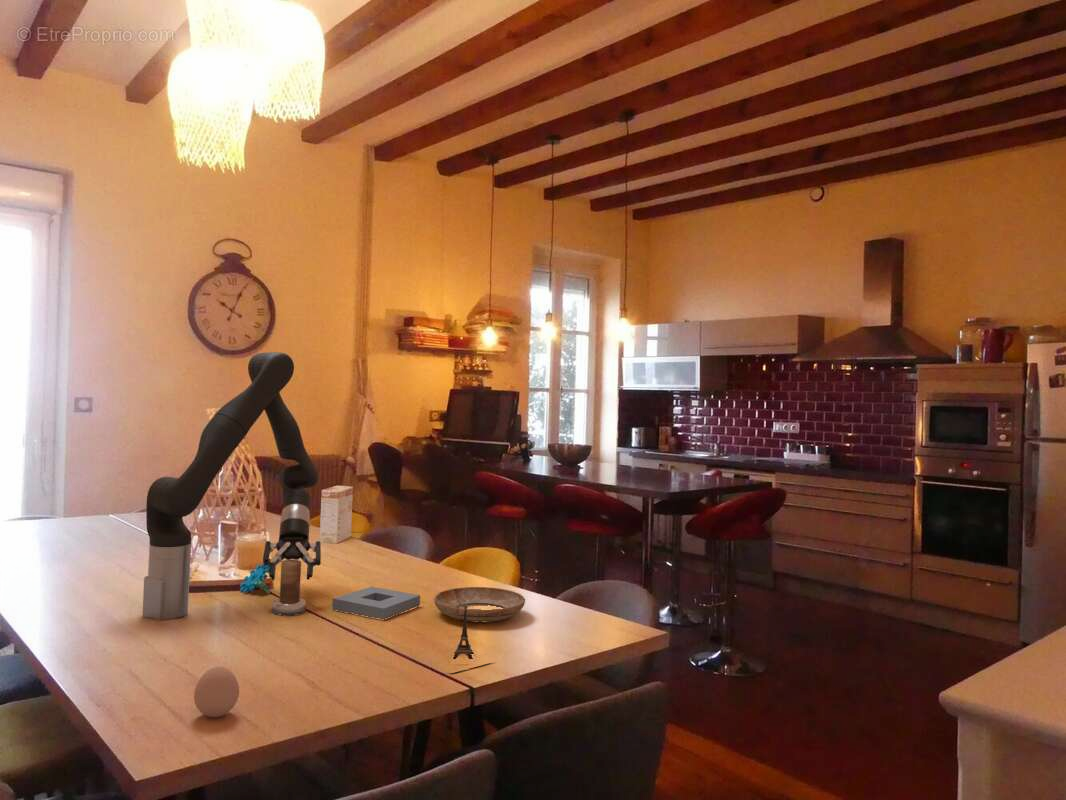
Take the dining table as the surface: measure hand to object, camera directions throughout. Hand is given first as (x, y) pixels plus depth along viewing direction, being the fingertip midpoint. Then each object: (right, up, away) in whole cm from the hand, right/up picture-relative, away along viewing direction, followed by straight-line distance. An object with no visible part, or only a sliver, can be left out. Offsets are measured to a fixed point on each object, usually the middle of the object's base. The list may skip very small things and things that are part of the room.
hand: (290, 578), depth 200 cm
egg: (+7, -9, -65) cm, 66 cm away
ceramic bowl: (+47, -11, +4) cm, 49 cm away
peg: (0, -6, 0) cm, 6 cm away
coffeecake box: (-13, -8, +97) cm, 98 cm away
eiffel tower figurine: (+47, -12, -31) cm, 57 cm away
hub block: (+21, -9, +6) cm, 23 cm away
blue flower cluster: (-15, -8, +17) cm, 24 cm away
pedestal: (0, -8, 0) cm, 8 cm away
